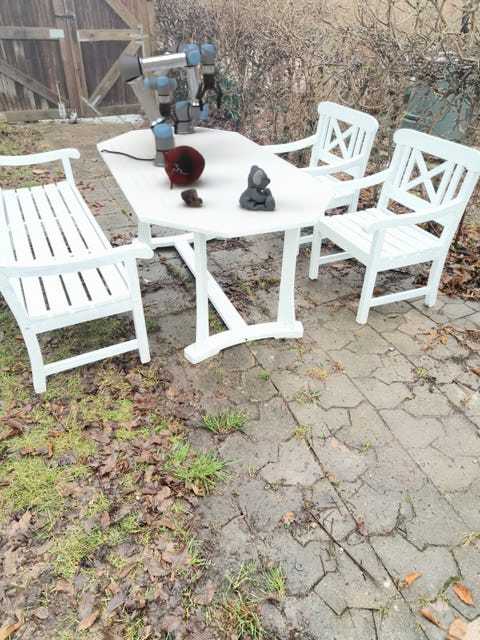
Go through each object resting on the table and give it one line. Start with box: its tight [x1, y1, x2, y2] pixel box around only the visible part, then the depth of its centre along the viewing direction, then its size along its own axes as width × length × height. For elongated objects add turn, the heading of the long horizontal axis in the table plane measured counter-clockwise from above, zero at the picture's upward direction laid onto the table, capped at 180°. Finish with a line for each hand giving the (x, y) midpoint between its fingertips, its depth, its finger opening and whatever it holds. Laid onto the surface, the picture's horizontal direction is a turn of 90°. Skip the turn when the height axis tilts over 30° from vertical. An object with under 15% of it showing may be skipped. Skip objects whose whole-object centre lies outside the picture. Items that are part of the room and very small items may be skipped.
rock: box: [180, 188, 204, 207], centre depth 229 cm, size 12×9×10 cm
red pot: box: [161, 145, 206, 190], centre depth 256 cm, size 21×24×25 cm
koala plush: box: [238, 164, 276, 211], centre depth 224 cm, size 17×18×20 cm
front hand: (210, 109), depth 294 cm, fingers open, 13 cm apart
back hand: (167, 135), depth 317 cm, fingers open, 13 cm apart
